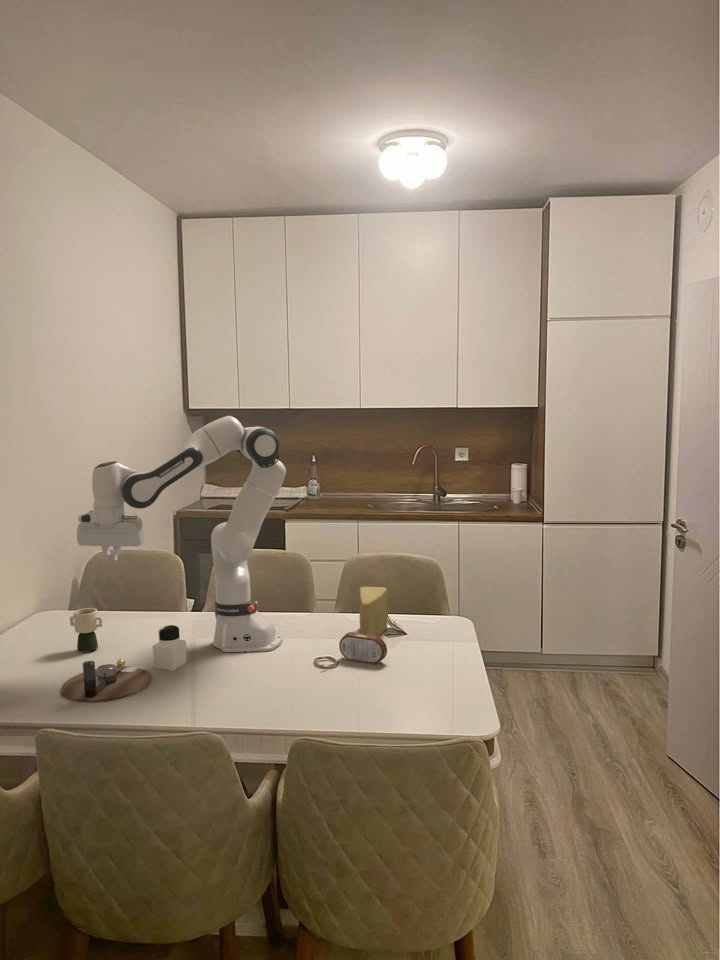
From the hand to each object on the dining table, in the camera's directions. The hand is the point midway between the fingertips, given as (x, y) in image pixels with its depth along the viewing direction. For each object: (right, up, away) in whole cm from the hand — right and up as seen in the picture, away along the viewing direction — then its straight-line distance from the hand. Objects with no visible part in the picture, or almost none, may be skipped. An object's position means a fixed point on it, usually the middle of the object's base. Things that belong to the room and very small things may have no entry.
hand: (111, 560), depth 228 cm
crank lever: (+4, -32, -18) cm, 37 cm away
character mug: (-12, -30, +11) cm, 34 cm away
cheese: (+79, -28, +19) cm, 86 cm away
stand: (+4, -33, -17) cm, 38 cm away
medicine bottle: (+19, -32, -3) cm, 37 cm away
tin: (+76, -31, -2) cm, 82 cm away
